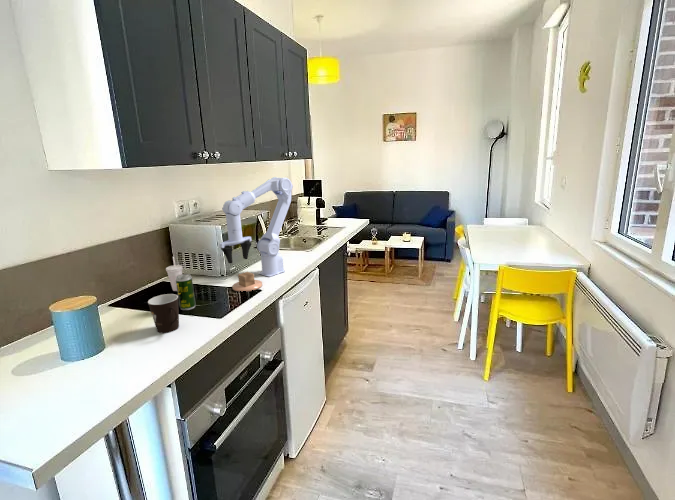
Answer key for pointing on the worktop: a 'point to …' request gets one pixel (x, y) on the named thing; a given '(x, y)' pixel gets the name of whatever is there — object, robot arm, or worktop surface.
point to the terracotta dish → (249, 288)
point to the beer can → (185, 292)
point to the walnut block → (246, 279)
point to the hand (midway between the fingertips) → (238, 260)
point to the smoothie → (174, 274)
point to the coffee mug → (165, 312)
